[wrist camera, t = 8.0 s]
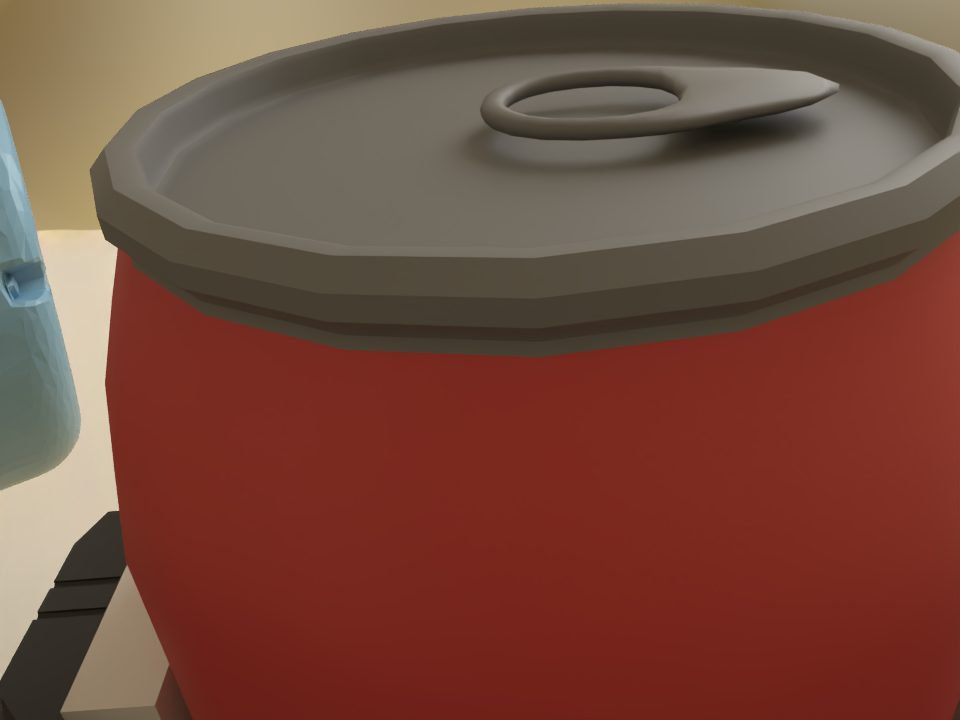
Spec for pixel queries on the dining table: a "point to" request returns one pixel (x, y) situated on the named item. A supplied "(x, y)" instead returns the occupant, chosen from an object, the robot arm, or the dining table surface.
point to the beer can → (547, 370)
